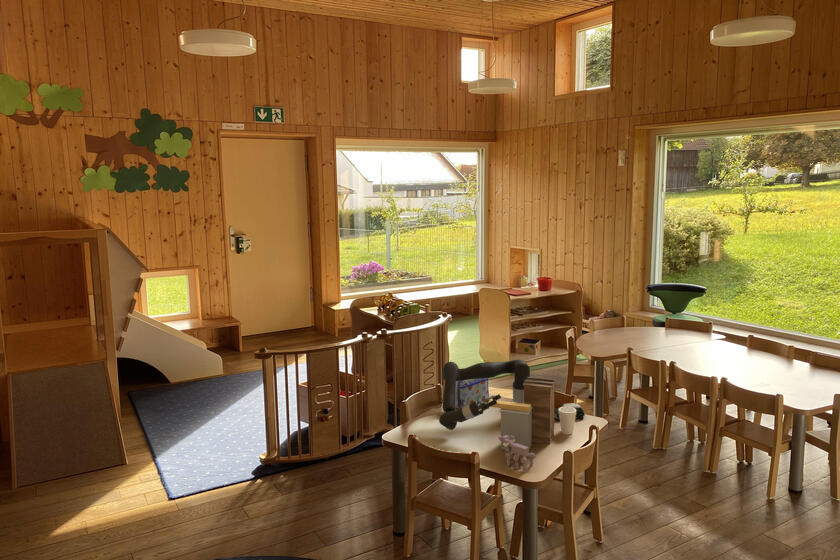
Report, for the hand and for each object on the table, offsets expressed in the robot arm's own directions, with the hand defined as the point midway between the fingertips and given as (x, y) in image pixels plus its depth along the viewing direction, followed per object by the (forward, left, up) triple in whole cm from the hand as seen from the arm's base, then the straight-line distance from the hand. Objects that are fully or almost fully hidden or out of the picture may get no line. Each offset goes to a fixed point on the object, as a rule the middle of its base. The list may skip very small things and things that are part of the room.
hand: (498, 398), depth 340 cm
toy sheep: (+19, +13, -26) cm, 35 cm away
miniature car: (-49, +29, -26) cm, 63 cm away
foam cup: (-28, +32, -26) cm, 50 cm away
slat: (0, +6, -4) cm, 7 cm away
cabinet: (-15, +19, -26) cm, 35 cm away
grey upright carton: (0, +10, -26) cm, 28 cm away
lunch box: (-48, -31, -26) cm, 63 cm away
